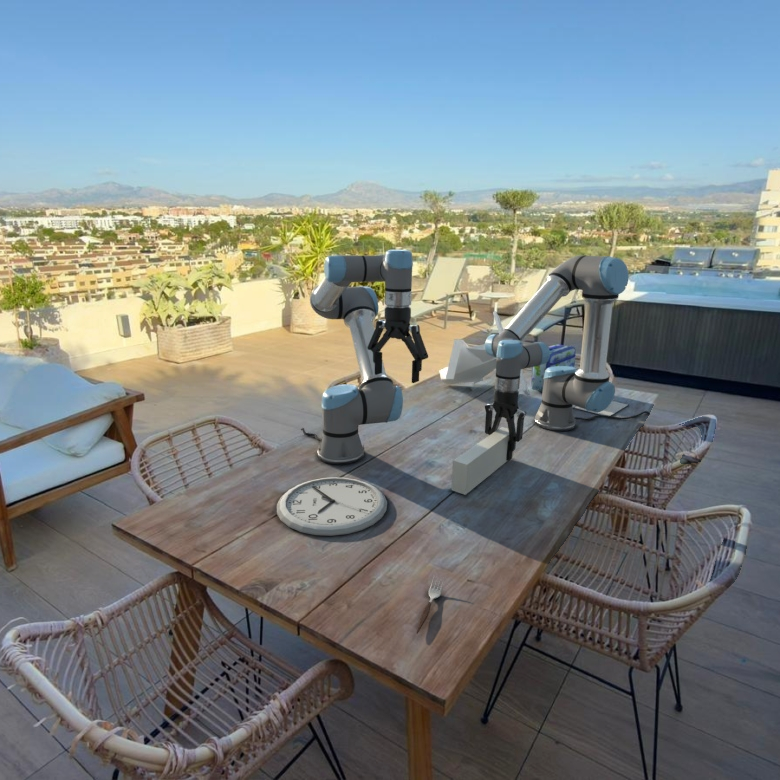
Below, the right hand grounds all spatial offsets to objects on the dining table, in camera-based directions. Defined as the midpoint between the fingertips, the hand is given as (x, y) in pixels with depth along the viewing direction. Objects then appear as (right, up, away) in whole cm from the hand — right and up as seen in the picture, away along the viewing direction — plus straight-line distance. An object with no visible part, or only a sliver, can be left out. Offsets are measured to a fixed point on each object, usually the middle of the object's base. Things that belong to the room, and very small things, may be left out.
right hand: (501, 456), depth 171 cm
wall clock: (-52, -10, -29) cm, 60 cm away
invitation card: (+55, +15, +55) cm, 79 cm away
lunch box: (+41, +22, +78) cm, 91 cm away
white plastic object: (+5, +21, +72) cm, 75 cm away
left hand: (-35, +26, -16) cm, 46 cm away
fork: (-29, -22, -67) cm, 76 cm away
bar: (-7, -4, -9) cm, 12 cm away
